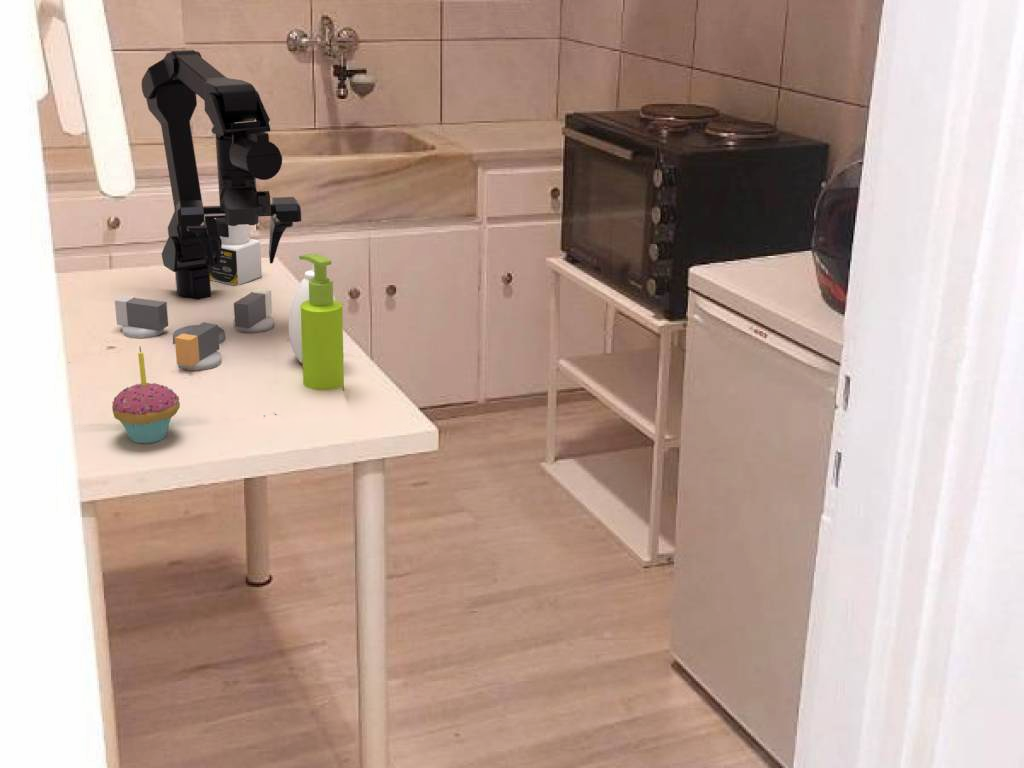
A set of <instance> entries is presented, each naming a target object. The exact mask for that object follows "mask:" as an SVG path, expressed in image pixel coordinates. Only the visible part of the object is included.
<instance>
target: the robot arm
mask: <svg viewBox="0 0 1024 768" xmlns="http://www.w3.org/2000/svg"><path fill="white" fill-rule="evenodd" d="M141 91H142V94H143V97H144V99H146V104H147V108H148V110H149V112H150V113H151V114H152V115H153V116H154V118H155V119H156V120H157V121H158V122H159V125H160V126H161V133H162V134H161V135H162V139H163V145H164V152H165V157H166V158H165V159H166V164H167V169H168V171H167V172H168V176H169V182H170V187H171V194H172V201H173V207H174V208H173V209H174V212H173V214H172V217H171V219H170V222H169V224H168V226H167V233H168V238H167V240H166V243H165V245H164V247H163V249H162V252H161V258H162V263H163V266H164V267H166V268H167V269H168V270H170V271H171V272H173V273H175V274H174V275H175V287H176V295H177V296H178V297H180V298H185V299H192V300H203V299H208V298H211V297H212V290H211V289H212V287H211V280H210V275H209V266H214V265H219V264H220V256H221V247H222V240H221V238H220V235H219V233H218V231H217V222H216V220H215V219H216V218H226V223H227V224H228V225H230V226H237V225H246V224H248V225H249V226H256V225H258V224H259V217H270V224H269V226H270V227H269V242H268V243H269V244H268V246H269V247H268V255H269V256H268V258H269V259H268V260H269V264H273V263H274V260H275V257H276V253H277V250H278V247H279V244H280V240H281V239H282V236H283V234H284V232H285V231H286V229H287V228H293V226H294V223H299V222H302V210H301V205H300V203H299V201H298V200H297V199H296V197H294V196H287V197H286V196H281V197H277V196H276V197H271V193H270V191H269V190H261V191H259V190H258V191H257V180H260V181H261V180H262V181H267V180H270V179H272V178H274V177H275V176H276V175H277V174H278V173H279V172H280V170H281V168H282V165H283V155H282V154H281V153H282V152H281V151H280V149H279V147H278V146H277V145H276V144H275V143H273V142H271V141H270V138H269V137H270V136H269V135H270V134H269V133H268V132H271V126H270V121H271V118H270V117H269V114H268V112H267V110H266V107H265V106H264V103H263V101H262V99H261V96H260V94H259V92H258V91H257V90H256V88H255V87H254V85H253V84H252V83H250V82H247V81H245V80H243V79H236V78H229V77H227V76H225V74H223V73H222V72H220V71H219V70H217V69H216V68H215V67H214V66H213V65H212V64H210V63H209V62H208V61H207V60H205V59H204V58H203V57H202V55H201V53H200V52H199V51H198V50H197V51H196V50H194V49H182V50H181V49H180V50H171V51H170V52H167V53H165V56H164V58H163V59H161V60H159V61H158V62H156V63H154V64H152V65H151V66H149V67H148V68H147V70H146V72H145V73H144V75H143V77H142V79H141ZM197 96H198V97H200V99H202V100H203V101H204V113H206V115H207V116H208V118H209V120H210V122H211V124H212V125H213V126H212V128H211V133H213V134H214V135H215V148H216V149H215V151H216V163H217V165H216V166H217V183H218V197H219V205H205V206H204V203H203V198H202V192H201V191H202V190H201V184H200V180H199V175H198V174H199V171H198V167H197V159H196V153H195V146H194V141H193V135H192V134H193V133H192V127H191V120H192V118H193V115H194V112H195V111H196V108H197V105H198V100H197ZM271 198H272V199H271Z"/></svg>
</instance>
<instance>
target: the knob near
mask: <svg viewBox="0 0 1024 768" xmlns="http://www.w3.org/2000/svg"><path fill="white" fill-rule="evenodd" d="M167 304H168V302H166V301H160V300H153V299H145V298H140V297H139V298H138V297H135V296H129V295H128V296H127V295H123V296H120V297H118V298H117V299H115V300H114V306H115V319H116V325H117V326H121V327H122V328H121V329H122V334H123V335H124V337H127V338H128V337H129V338H131V339H133V338H134V339H148V338H154V337H157V336H160V335H162V334H163V333H164V332H165V329H166V328H167V327H169V317H168V305H167Z"/></svg>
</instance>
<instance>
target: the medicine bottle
mask: <svg viewBox="0 0 1024 768" xmlns="http://www.w3.org/2000/svg"><path fill="white" fill-rule="evenodd" d="M215 220H216V222H217V231H218V233H219V235H220V238H221V240H222V247H221V256H220V264H219V265H214V266H209V275H210V281H213V282H217V283H222V284H226V285H230V286H237V287H238V286H242V285H244V284H247V283H249V282H252V281H255V280H257V279H260V278H262V276H263V274H262V273H263V272H262V270H263V269H262V253H261V252H262V250H261V248H262V247H261V241H260V240H258V239H253V238H250V234H251V233H250V225H248V224H246V225H237V226H230V225H228V224H227V223H226V218H215Z"/></svg>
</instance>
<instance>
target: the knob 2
mask: <svg viewBox="0 0 1024 768" xmlns="http://www.w3.org/2000/svg"><path fill="white" fill-rule="evenodd" d="M233 313H234V319H233V329H234V330H235V331H238V332H241V333H250V334H251V333H262V332H264V333H265V332H267V331H270V330H271V329H273V328H274V326H275V321H274V317H273V316H271V315H273V306H272V290H270V289H264V288H254V290H252V291H251V292H250V293H248V294H247V295H245V296H243V297H241V298H240V299H237V300H236V301H235V302H233Z"/></svg>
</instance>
